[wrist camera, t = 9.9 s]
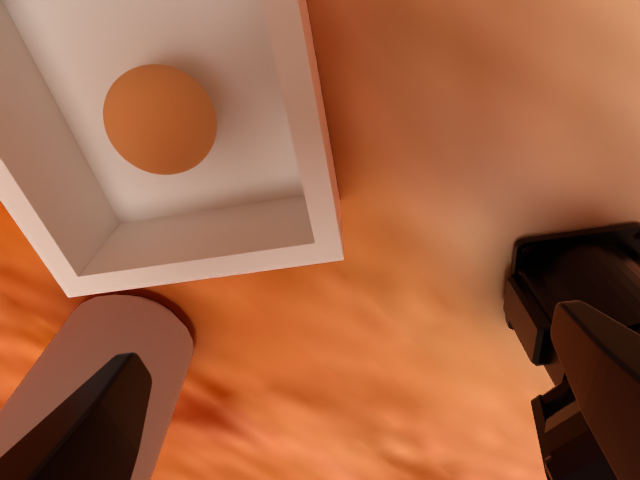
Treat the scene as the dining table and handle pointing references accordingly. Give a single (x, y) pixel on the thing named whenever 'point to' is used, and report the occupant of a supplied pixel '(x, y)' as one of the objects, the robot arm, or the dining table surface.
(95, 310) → the can
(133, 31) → the box
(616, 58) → the dining table surface
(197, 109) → the ball
